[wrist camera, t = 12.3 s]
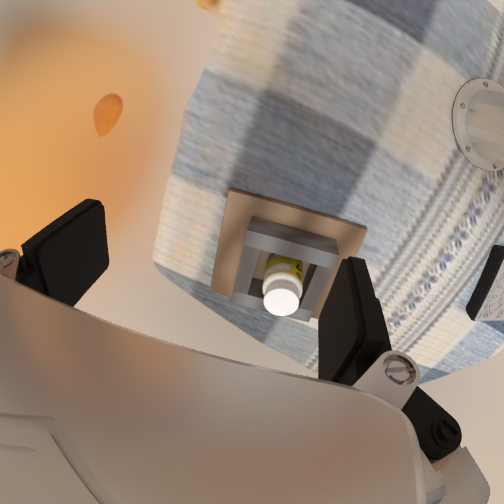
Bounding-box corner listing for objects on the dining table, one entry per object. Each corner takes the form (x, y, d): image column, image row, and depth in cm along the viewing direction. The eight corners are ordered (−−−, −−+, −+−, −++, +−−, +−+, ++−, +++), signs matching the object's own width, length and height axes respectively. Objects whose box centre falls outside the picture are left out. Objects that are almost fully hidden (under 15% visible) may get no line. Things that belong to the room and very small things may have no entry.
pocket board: (365, 226, 36) (374, 245, 31) (323, 315, 44) (325, 339, 40) (230, 188, 36) (221, 202, 32) (211, 286, 44) (202, 307, 40)
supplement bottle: (303, 277, 40) (303, 318, 33) (269, 278, 41) (262, 319, 33) (301, 246, 37) (301, 285, 30) (265, 248, 38) (256, 286, 31)
